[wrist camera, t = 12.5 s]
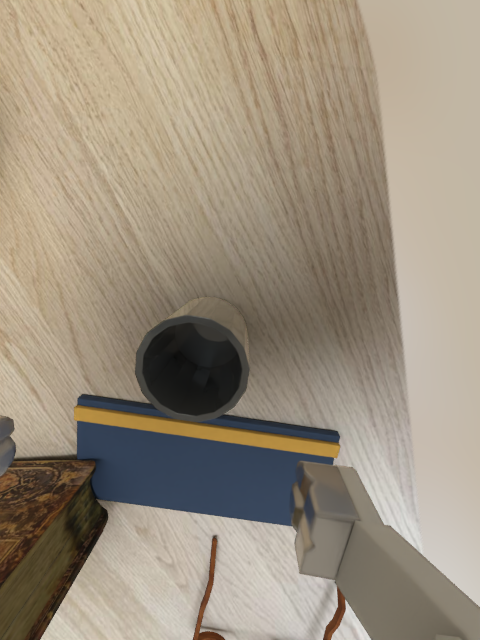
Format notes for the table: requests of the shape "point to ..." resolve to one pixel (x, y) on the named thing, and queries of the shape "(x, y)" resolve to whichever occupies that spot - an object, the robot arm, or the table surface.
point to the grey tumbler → (195, 361)
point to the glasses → (215, 639)
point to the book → (43, 540)
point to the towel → (196, 459)
